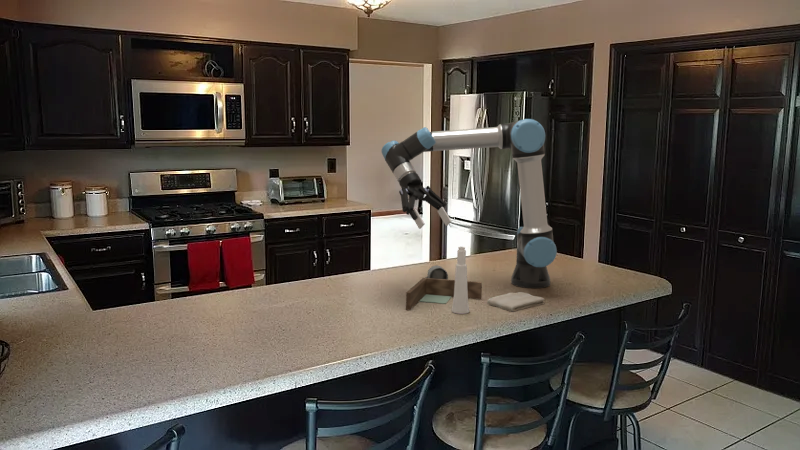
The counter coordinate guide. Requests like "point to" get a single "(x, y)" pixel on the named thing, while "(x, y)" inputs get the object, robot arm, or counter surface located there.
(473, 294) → the walnut corner walls
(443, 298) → the mat
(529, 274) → the robot arm
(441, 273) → the ceramic mug
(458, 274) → the cosmetic bottle
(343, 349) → the counter surface
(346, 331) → the counter surface
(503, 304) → the washcloth
